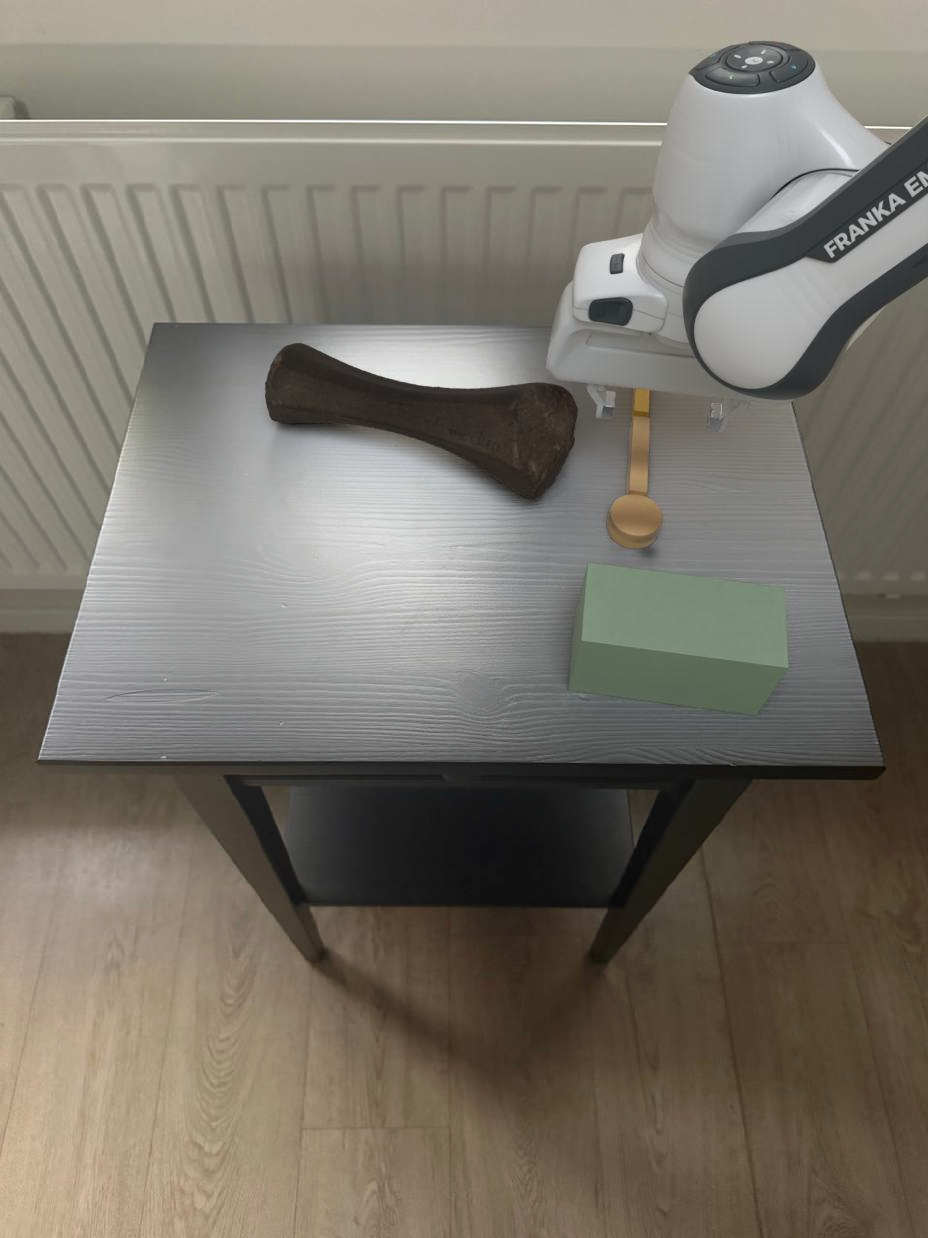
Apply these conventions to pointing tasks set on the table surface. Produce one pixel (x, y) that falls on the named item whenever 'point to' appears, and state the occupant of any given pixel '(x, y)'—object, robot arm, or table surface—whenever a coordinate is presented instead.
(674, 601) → the sage green box
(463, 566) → the table surface
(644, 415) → the fry
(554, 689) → the table surface
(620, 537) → the spoon
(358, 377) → the dark brown bone
